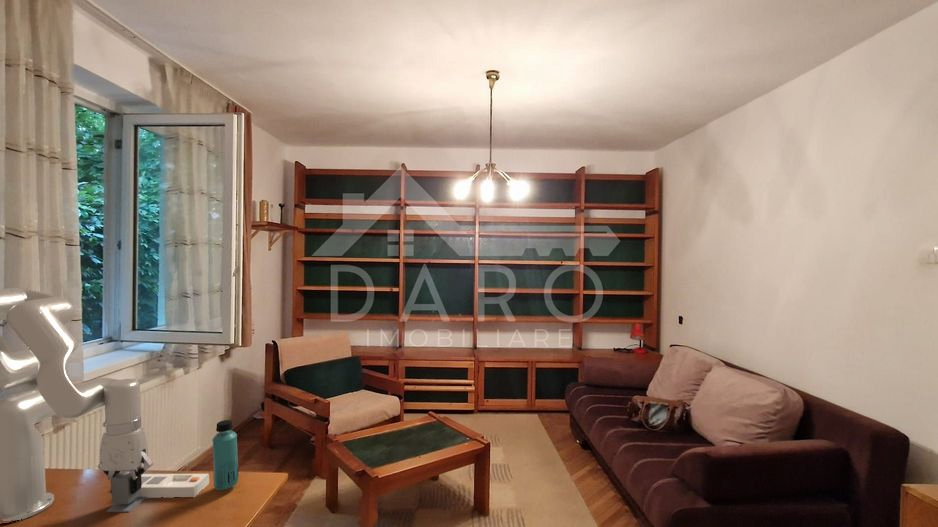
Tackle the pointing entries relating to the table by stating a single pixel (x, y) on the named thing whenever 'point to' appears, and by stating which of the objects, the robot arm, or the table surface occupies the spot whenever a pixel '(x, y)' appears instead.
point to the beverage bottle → (225, 456)
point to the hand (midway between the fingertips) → (126, 490)
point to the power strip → (172, 485)
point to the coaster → (126, 505)
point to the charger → (122, 488)
